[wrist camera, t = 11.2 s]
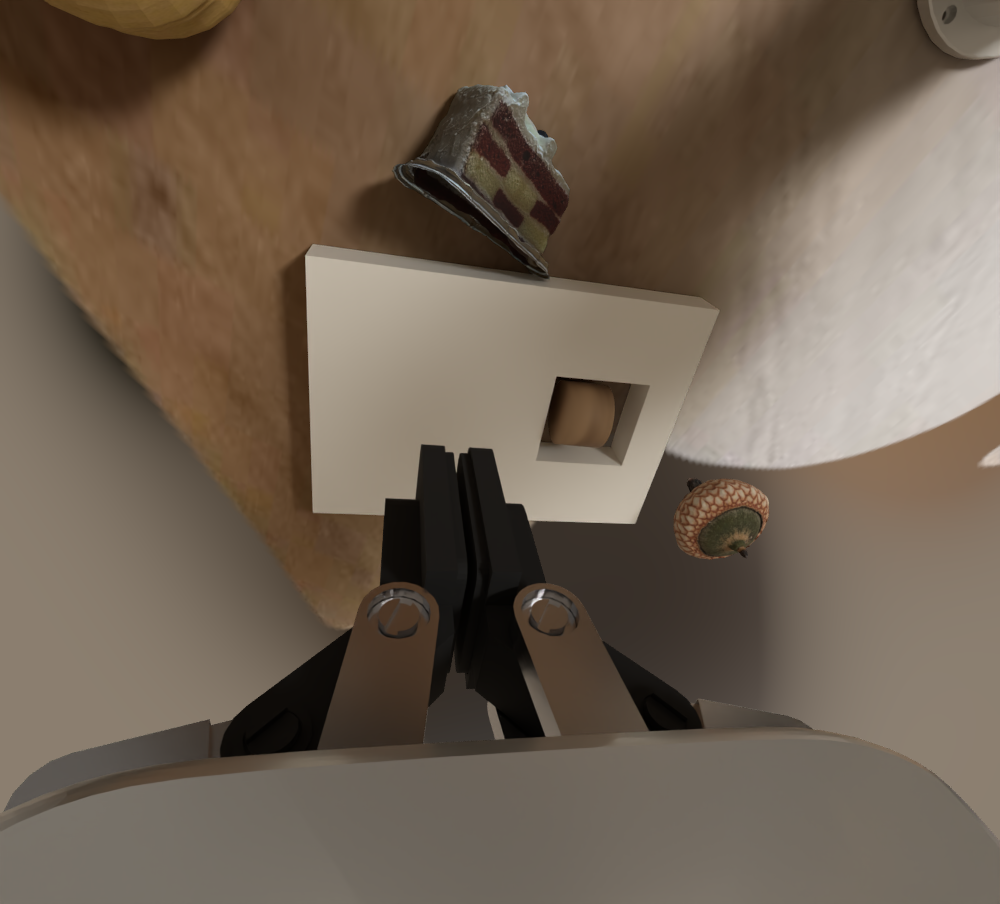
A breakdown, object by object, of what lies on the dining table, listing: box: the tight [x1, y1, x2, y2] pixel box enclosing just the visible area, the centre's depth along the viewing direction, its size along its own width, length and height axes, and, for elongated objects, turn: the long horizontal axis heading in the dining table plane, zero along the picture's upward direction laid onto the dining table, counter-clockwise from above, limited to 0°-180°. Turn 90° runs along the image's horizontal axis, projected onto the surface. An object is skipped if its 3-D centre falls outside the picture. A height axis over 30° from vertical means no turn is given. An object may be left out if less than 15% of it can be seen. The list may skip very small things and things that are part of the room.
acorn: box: [674, 478, 769, 560], centre depth 46 cm, size 8×8×10 cm
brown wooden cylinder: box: [548, 380, 615, 448], centre depth 41 cm, size 5×5×4 cm
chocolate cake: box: [392, 85, 570, 280], centre depth 32 cm, size 10×7×12 cm
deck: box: [305, 244, 720, 524], centre depth 41 cm, size 28×20×3 cm
